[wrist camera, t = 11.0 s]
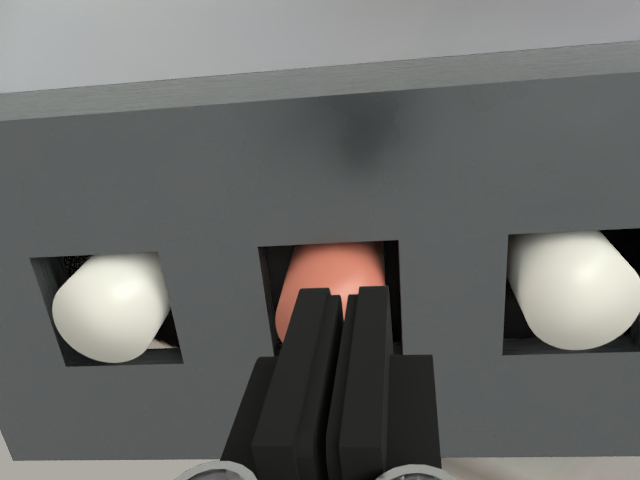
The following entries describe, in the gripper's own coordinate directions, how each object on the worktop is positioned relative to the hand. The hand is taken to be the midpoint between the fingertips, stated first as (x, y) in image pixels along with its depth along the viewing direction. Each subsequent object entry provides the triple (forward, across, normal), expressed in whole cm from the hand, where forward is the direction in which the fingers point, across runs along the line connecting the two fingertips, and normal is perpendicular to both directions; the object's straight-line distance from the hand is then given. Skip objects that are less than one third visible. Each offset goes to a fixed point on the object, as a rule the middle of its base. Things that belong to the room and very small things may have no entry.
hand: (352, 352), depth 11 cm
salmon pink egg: (+12, +2, +4) cm, 13 cm away
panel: (+13, +2, +4) cm, 14 cm away
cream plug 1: (+13, +10, +4) cm, 16 cm away
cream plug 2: (+13, -6, +4) cm, 15 cm away
